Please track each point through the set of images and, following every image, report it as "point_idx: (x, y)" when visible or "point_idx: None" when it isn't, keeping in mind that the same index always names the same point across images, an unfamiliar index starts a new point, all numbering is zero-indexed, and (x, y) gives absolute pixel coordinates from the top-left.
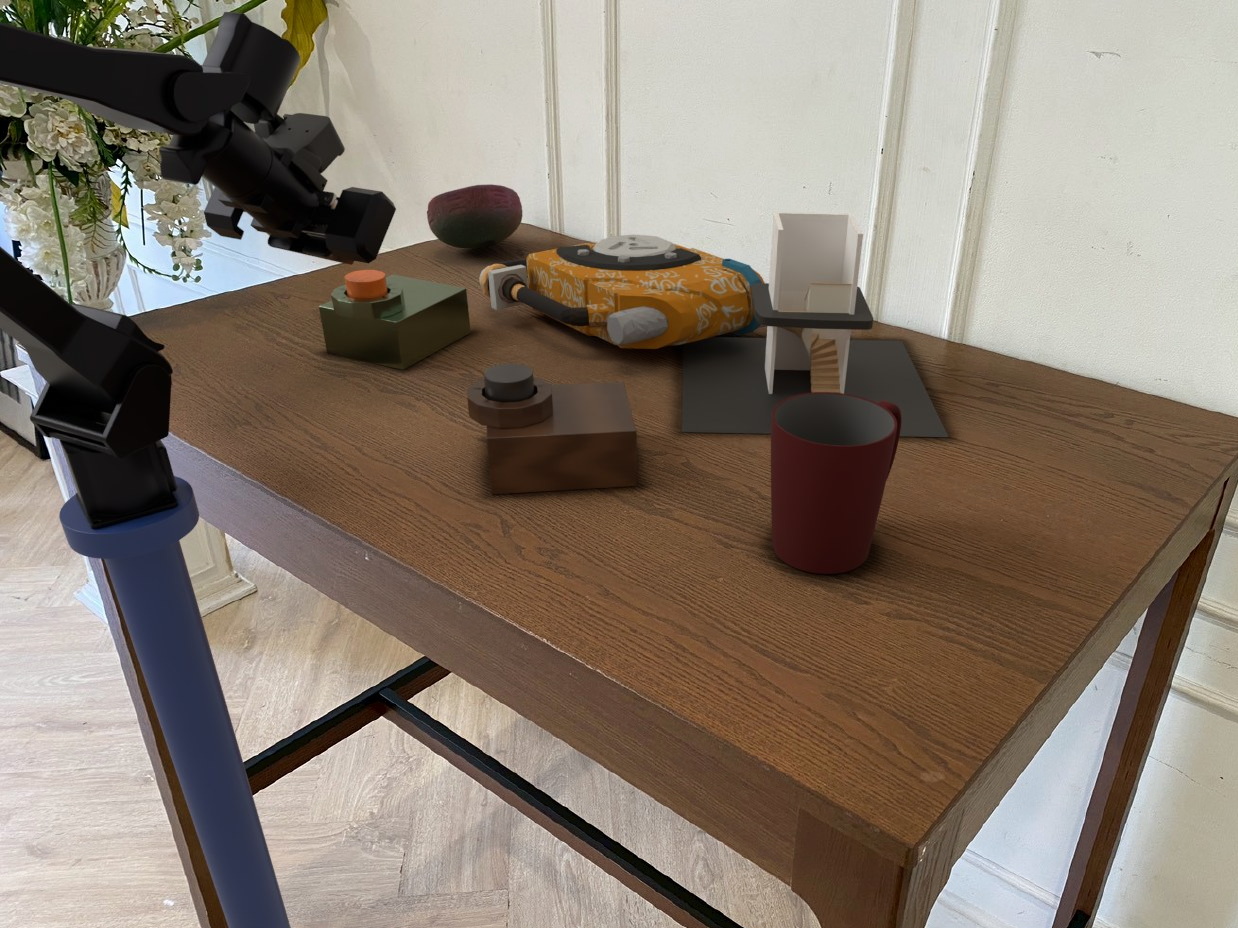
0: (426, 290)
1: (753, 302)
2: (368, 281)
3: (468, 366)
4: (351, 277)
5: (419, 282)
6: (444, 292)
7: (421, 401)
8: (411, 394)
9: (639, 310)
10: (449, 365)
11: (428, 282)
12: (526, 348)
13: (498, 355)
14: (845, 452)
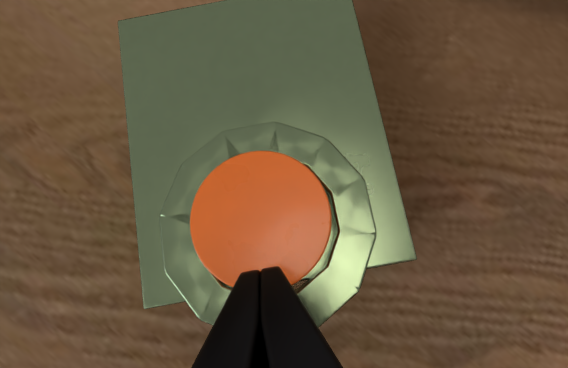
0: (281, 47)
1: None
2: (320, 254)
3: (468, 164)
4: (236, 262)
5: (220, 19)
6: (329, 29)
7: (546, 351)
8: (500, 338)
9: None
10: (435, 183)
11: (238, 5)
12: (479, 34)
13: (467, 90)
14: None
